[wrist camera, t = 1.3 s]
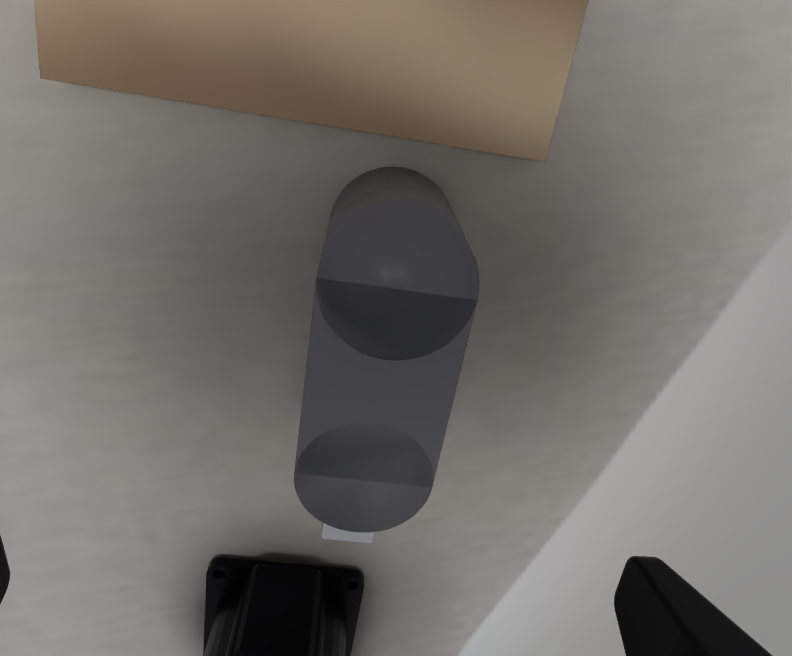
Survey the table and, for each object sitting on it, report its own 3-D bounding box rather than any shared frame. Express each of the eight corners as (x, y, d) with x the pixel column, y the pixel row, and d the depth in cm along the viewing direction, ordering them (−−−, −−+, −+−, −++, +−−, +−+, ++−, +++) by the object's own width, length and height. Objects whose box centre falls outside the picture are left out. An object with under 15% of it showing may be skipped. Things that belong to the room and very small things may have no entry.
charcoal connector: (399, 488, 24) (406, 593, 19) (298, 478, 23) (281, 582, 19) (466, 177, 19) (496, 222, 14) (337, 157, 18) (325, 196, 14)
